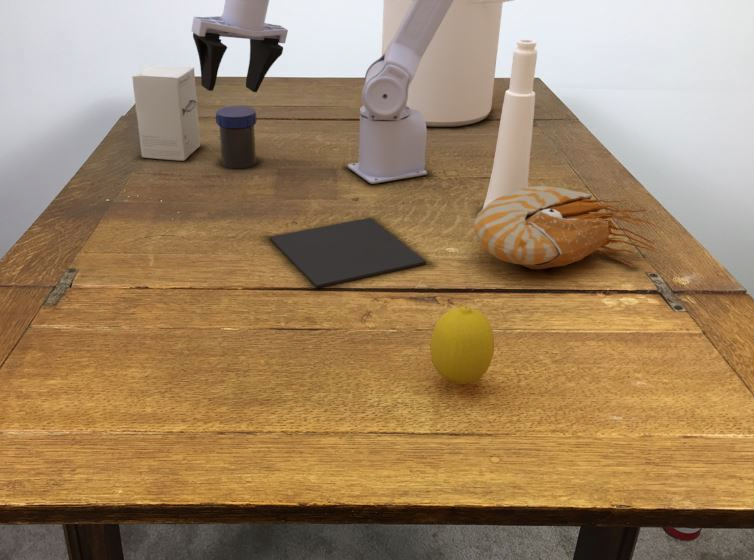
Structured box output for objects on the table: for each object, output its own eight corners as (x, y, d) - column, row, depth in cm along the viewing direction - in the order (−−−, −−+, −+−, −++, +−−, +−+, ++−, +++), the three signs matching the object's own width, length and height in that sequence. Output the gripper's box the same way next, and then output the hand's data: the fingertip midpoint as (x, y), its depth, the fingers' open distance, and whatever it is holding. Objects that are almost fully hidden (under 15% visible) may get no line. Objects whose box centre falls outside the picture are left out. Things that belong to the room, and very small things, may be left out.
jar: (249, 155, 124) (246, 108, 120) (261, 165, 120) (258, 117, 116) (217, 160, 122) (213, 112, 118) (228, 170, 118) (225, 121, 114)
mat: (370, 220, 102) (370, 217, 102) (426, 264, 92) (426, 261, 91) (269, 239, 97) (269, 236, 97) (316, 288, 86) (316, 285, 86)
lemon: (422, 368, 73) (428, 292, 69) (480, 365, 74) (490, 290, 69) (433, 403, 68) (440, 325, 64) (495, 400, 69) (506, 322, 65)
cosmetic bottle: (512, 228, 100) (536, 49, 89) (472, 215, 104) (490, 41, 92) (536, 214, 104) (562, 41, 92) (497, 202, 108) (518, 34, 96)
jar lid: (248, 115, 121) (247, 104, 120) (261, 125, 116) (261, 114, 115) (211, 119, 118) (210, 108, 118) (224, 130, 114) (223, 119, 113)
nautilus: (645, 245, 98) (662, 309, 85) (472, 220, 100) (465, 279, 88) (664, 186, 93) (684, 245, 81) (482, 162, 96) (476, 215, 84)
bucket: (522, 109, 147) (542, -39, 134) (473, 140, 131) (490, -25, 118) (402, 89, 158) (409, -49, 145) (343, 115, 142) (345, -37, 129)
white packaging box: (185, 161, 121) (177, 77, 114) (140, 158, 122) (129, 74, 115) (202, 146, 127) (195, 66, 120) (159, 143, 128) (149, 63, 121)
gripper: (275, -14, 112) (255, 80, 119) (187, -26, 103) (171, 76, 110) (304, 3, 108) (281, 98, 115) (215, -9, 99) (197, 95, 106)
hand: (229, 88), depth 112 cm, fingers open, 7 cm apart
